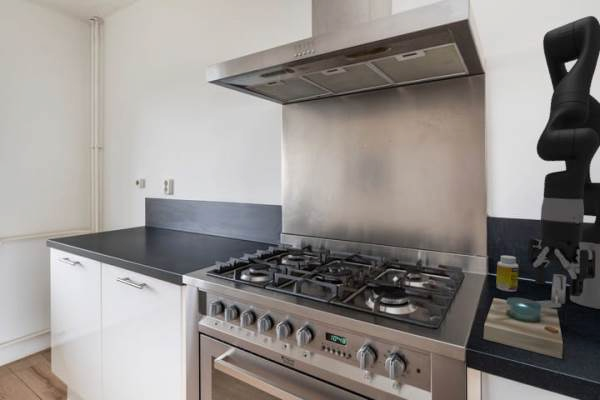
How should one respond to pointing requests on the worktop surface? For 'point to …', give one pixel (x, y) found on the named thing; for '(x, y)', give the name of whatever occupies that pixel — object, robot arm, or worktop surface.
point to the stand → (525, 331)
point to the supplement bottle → (507, 274)
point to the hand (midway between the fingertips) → (556, 289)
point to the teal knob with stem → (535, 302)
